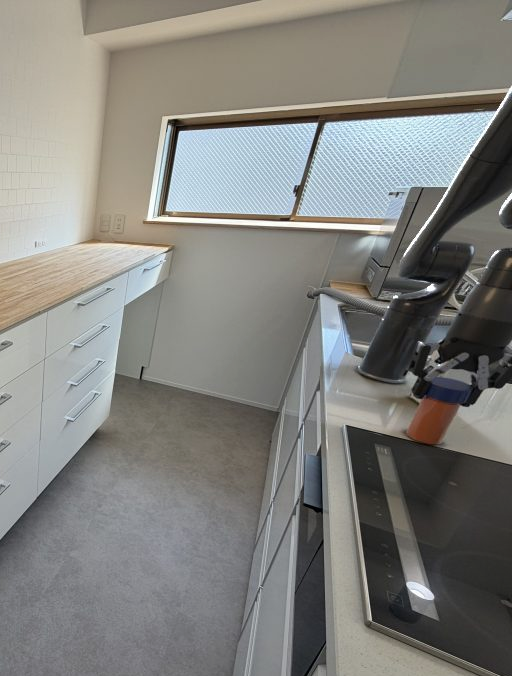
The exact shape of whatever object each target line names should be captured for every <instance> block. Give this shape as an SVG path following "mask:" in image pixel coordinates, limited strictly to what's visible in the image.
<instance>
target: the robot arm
mask: <svg viewBox="0 0 512 676" xmlns="http://www.w3.org/2000/svg"><path fill="white" fill-rule="evenodd" d="M511 191H512V85H511V86H510V87H509V89H508V91H507V93H506V95H505V96H504V98H503V100H502V102H501V103H500V105H499V106H498V108H497V109H496V111H495V113H494V114H493V115H492V117H491V119H490V121H489V122H488V124H487V125H486V127H485V129H484V130H483V132H482V133H481V134H480V136H479V138H478V139H477V140H476V142H475V143H474V145H473V146H472V148H471V150H470V152H468V154H467V156H466V158H465V159H464V160H463V162H462V164H461V166H460V167H459V169H458V171H457V173H456V174H455V176H454V178H453V180H452V181H451V183H450V185H449V187H448V188H447V190H446V192H445V193H444V195H443V197H442V198H441V200H440V202H439V203H438V205H437V207H436V208H435V210H434V211H433V212H432V214H431V215H430V217H429V218H428V219H427V221H426V222H425V224H424V225H423V226H422V228H420V230H419V232H418V233H417V235H416V236H415V238H414V239H413V240H412V242H411V243H410V245H409V246H408V247H407V249H406V250H405V252H404V254H403V255H402V257H401V259H400V261H399V264H398V266H397V270H396V271H397V272H396V274H397V277H398V278H400V279H401V280H404V281H409V282H418V283H425V284H426V283H427V284H430V285H429V286H427V287H426V288H423V289H421V290H418V291H414V292H408V293H401V294H396V295H395V296H393V297H392V298H391V299H390V302H389V304H388V306H387V308H386V310H385V312H384V314H383V316H382V318H381V320H380V323H379V325H378V326H377V329H376V331H375V333H374V336H373V338H372V339H371V342H370V344H369V346H368V347H367V348H368V349H367V350H366V352H365V354H364V356H363V358H362V360H361V362H360V364H359V366H358V367H357V372H358V373H359V374H360V375H363V376H364V377H367V378H369V379H371V380H375V381H379V382H382V383H388V384H402V383H405V381H406V379H407V376H408V375H410V374H412V375H413V376H414V377H417V378H416V380H415V382H414V383H413V385H412V388H411V389H410V391H411V392H412V393H413V396H414V397H416V398H417V399H423V398H424V396H425V394H426V392H427V391H428V389H429V387H430V385H431V384H432V382H431V380H432V379H434V378H435V377H437V376H438V375H439V374H441V373H445V372H447V371H448V370H449V369H456V370H457V369H463V370H465V371H469V373H470V379H471V383H470V385H471V386H472V387H473V390H472V393H471V395H470V397H469V399H468V401H467V402H465V403H461V405H460V407H462V408H463V407H464V408H469V407H470V406H473V405H475V404H476V403H477V401H478V400H479V398H480V397H481V395H482V393H483V392H484V391H485V390H487V389H496V390H500V389H503V388H504V386H506V384H508V382H509V381H510V380H511V379H512V352H511V353H507V352H505V349H506V348H507V347H508V346H509V345H511V342H512V246H509V247H508V246H507V247H502V248H499V249H497V250H496V251H495V252H493V253H492V255H491V256H490V258H489V260H488V261H487V263H486V265H485V267H484V269H483V270H482V272H481V274H480V276H479V278H478V279H477V280H476V281H477V282H475V284H474V286H473V287H472V289H470V291H469V292H468V294H467V295H466V297H465V298H464V301H463V302H462V304H461V306H460V308H459V309H458V311H457V313H456V314H455V316H454V318H453V320H452V321H451V324H450V325H449V327H448V329H447V331H446V334H445V336H444V338H443V339H441V340H442V341H440V342H439V341H438V342H439V343H438V342H437V343H436V342H426V341H427V339H428V338H429V336H430V334H431V332H432V330H433V328H434V327H435V325H436V323H437V320H438V319H439V317H440V315H441V313H442V312H443V310H444V309H445V307H446V306H447V304H448V302H449V301H450V299H451V298H452V296H453V294H454V293H455V291H456V289H457V288H458V286H459V284H460V283H461V281H462V280H463V278H464V276H465V275H466V274H467V272H468V270H469V269H470V267H471V265H472V262H473V261H474V259H475V254H476V248H475V245H474V244H473V243H471V242H466V241H456V240H444V239H443V238H444V237H445V235H447V233H449V232H450V231H451V230H452V229H453V228H454V227H455V226H457V225H458V224H459V223H461V222H462V221H464V220H465V219H467V218H468V217H470V216H472V215H473V214H476V212H478V211H480V210H482V209H484V208H485V207H487V206H489V205H490V204H492V203H494V202H496V201H497V200H499V199H500V198H502V197H504V196H505V195H507V194H508V193H509V192H511ZM498 220H499V222H500V224H501V225H502V226H503V228H505V229H507V230H512V192H511V193H510V194H509V195H508V197H507V199H505V201H504V202H503V204H502V205H501V207H500V209H499V211H498ZM442 239H443V240H442ZM436 350H437V351H438V353H439V356H437V357H436V358H435V359H433V360H432V361H431V362H429V365H428V366H426V364H427V362H428V359H429V356H431V355H432V354H433V352H434V351H436ZM496 362H498V365H497V366H496V367H495V369H494V370H493V371H492V372H491V373H490V370H489V366H490V365H492V364H494V363H496ZM442 363H443V364H442ZM441 364H442V365H441ZM425 366H426V367H425ZM411 392H410V393H411Z"/></svg>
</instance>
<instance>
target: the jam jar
mask: <svg viewBox="0 0 512 676" xmlns="http://www.w3.org/2000/svg"><path fill="white" fill-rule="evenodd" d="M460 407H461V403H447V402H443V401H438V400H435V399H432V398H430V397H427V396H424V398H423V399H421V401H420V403H418V406H417V408H416V410H415V412H414V414H413V417H412V419H411V420H410V423H409V426H408V428H407V430H406V432H405V434H406V435H407V436H408V437H409V438H411V439H413V440H414V441H417V442H419V443H423V444H429V445H440V444H442V442H443V440H444V438H445V437H446V435H447V433H448V431H449V430H450V427H451V425H452V423H453V421H454V419H455V417H456V415H457V413H458V411H459V409H460Z"/></svg>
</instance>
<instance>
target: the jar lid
mask: <svg viewBox="0 0 512 676" xmlns="http://www.w3.org/2000/svg"><path fill="white" fill-rule="evenodd" d="M431 382H432V384H431V385H430V387H429V389H428V391H427V392H426V394H425V396H427V397H430V398H432V399H435V400H438V401H443V402H447V403H465V402H467V401H468V399H469V397H470V395H471V393H472V390H473V387H472V386H471V384H470V385H469V384H467V383H464V382H461V381H458V380H454V379H450V378H443V377H435V378H434V379H432V380H431Z"/></svg>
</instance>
